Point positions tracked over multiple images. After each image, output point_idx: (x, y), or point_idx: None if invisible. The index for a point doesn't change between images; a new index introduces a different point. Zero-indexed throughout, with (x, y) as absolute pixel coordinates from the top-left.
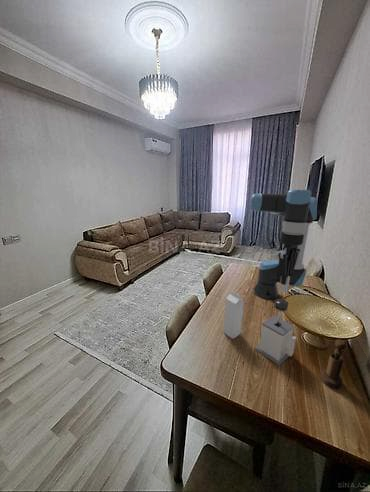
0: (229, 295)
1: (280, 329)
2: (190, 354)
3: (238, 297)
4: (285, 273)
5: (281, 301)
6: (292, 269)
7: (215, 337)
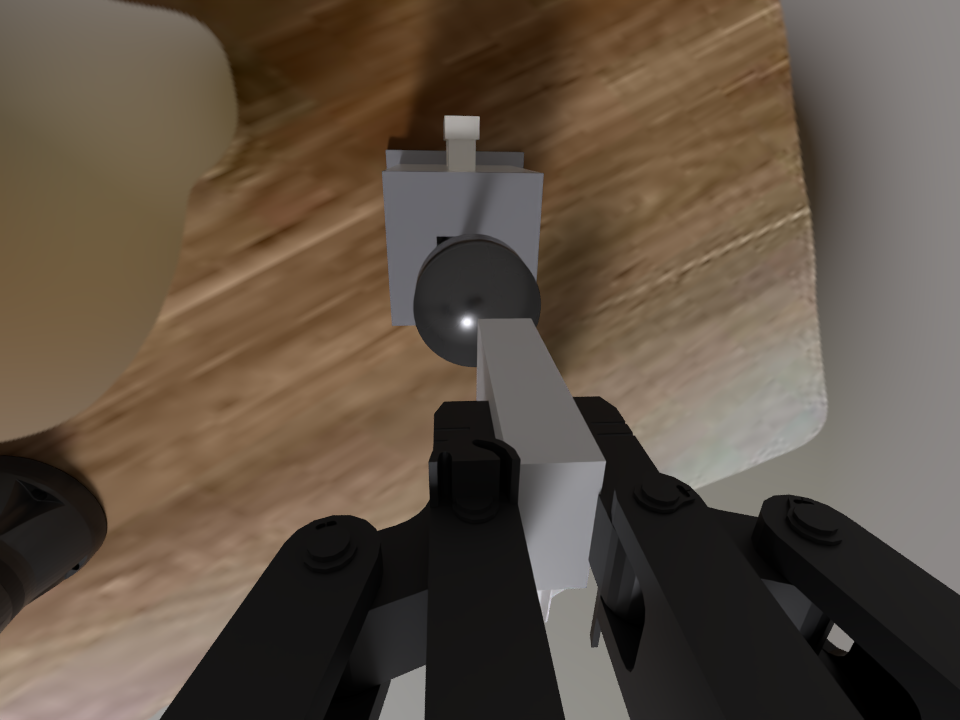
0: (555, 591)
1: (503, 214)
2: (725, 423)
3: None
4: (914, 584)
5: (465, 315)
6: (354, 631)
7: None
